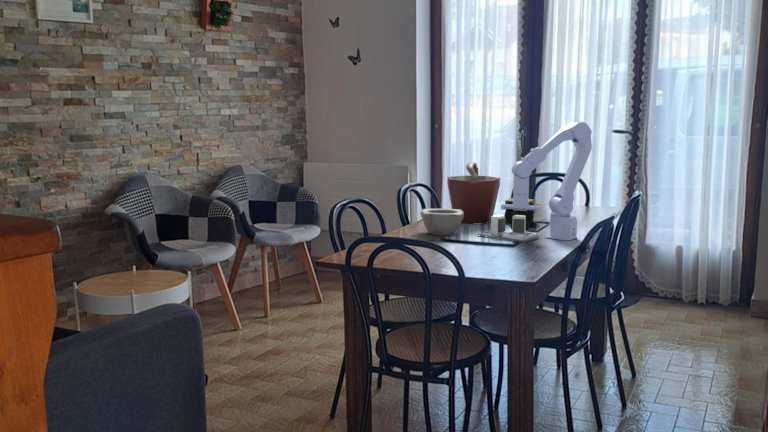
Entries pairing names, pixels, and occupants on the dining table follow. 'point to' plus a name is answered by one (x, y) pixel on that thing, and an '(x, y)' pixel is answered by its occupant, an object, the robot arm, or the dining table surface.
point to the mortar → (442, 220)
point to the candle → (517, 212)
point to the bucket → (474, 195)
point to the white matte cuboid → (519, 225)
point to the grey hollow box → (498, 232)
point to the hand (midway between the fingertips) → (519, 229)
